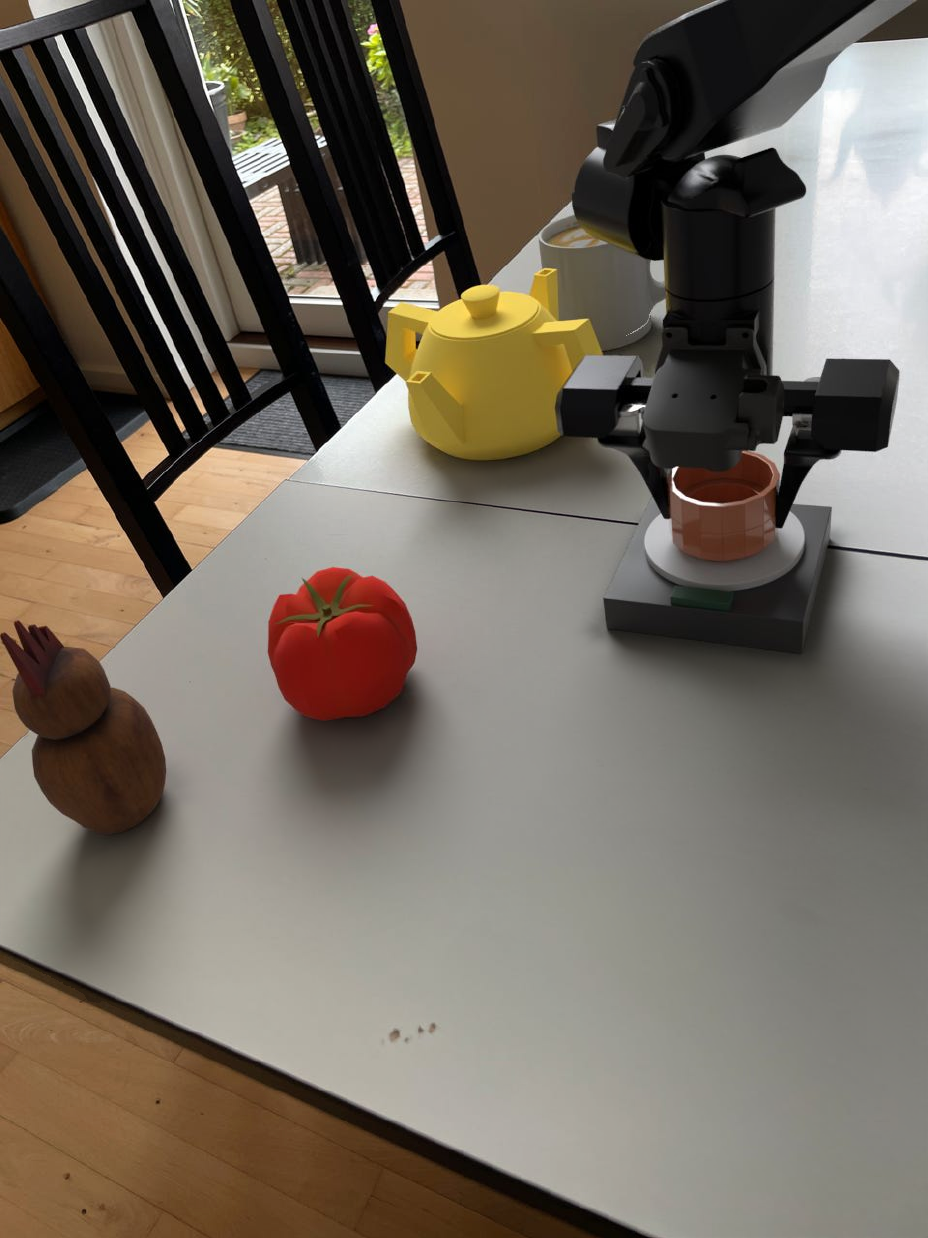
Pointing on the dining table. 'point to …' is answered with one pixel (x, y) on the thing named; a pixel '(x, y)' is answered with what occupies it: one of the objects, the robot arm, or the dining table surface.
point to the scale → (721, 585)
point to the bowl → (724, 508)
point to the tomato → (341, 645)
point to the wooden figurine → (85, 734)
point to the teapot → (488, 368)
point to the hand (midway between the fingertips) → (722, 520)
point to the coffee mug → (600, 283)
